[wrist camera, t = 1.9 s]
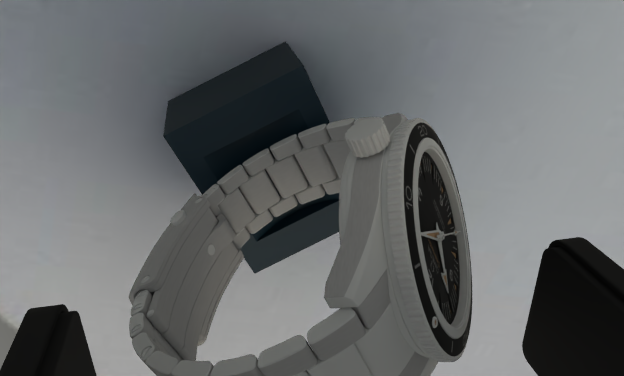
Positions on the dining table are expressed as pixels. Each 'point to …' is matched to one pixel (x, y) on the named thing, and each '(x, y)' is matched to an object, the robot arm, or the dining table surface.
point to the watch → (307, 230)
